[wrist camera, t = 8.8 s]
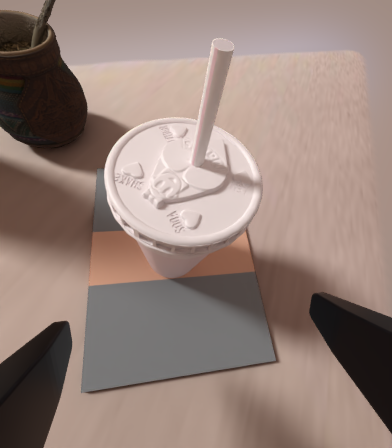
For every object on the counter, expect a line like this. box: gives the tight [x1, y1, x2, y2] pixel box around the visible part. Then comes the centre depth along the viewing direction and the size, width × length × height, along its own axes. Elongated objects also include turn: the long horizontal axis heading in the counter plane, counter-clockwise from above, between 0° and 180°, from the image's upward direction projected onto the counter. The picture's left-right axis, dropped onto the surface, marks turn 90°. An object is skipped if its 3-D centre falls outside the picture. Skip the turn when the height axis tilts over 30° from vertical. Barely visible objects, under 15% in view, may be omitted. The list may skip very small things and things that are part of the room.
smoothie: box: [104, 38, 263, 278], centre depth 12 cm, size 6×6×14 cm
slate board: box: [81, 169, 276, 393], centre depth 18 cm, size 16×12×1 cm
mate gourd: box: [0, 0, 88, 148], centre depth 18 cm, size 7×8×10 cm
